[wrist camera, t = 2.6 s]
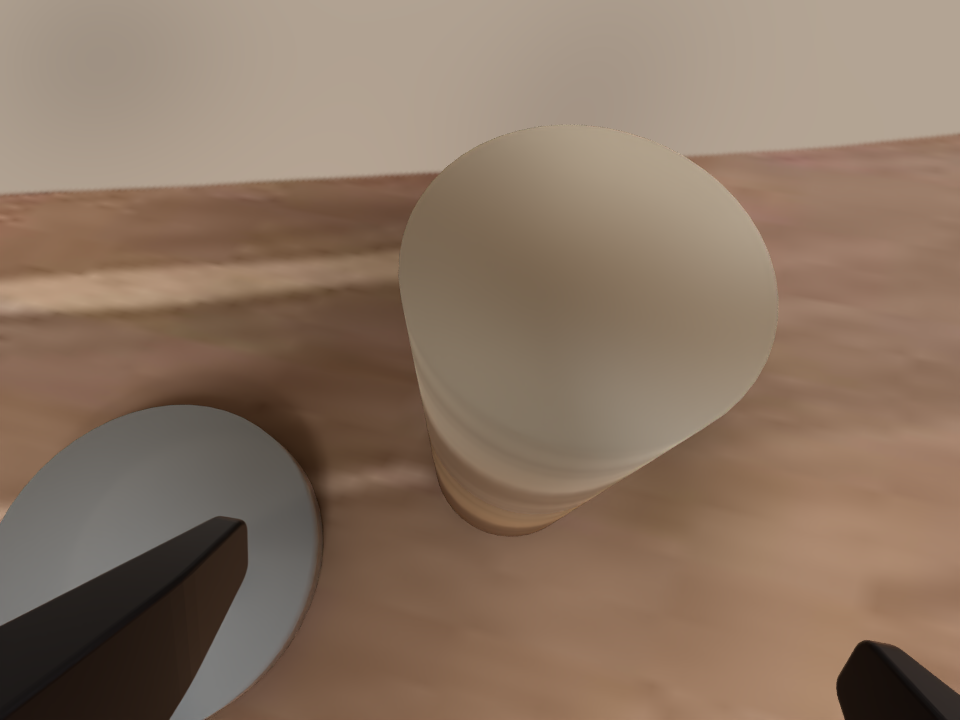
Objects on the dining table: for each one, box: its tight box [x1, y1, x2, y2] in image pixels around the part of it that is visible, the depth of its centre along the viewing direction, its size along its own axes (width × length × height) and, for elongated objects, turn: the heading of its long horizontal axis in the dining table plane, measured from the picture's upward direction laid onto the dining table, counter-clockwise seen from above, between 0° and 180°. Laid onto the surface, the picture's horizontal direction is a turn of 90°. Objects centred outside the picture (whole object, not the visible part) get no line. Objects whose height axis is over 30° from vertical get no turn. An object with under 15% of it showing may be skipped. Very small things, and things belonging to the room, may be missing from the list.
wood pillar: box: [398, 125, 778, 536], centre depth 14 cm, size 6×6×13 cm
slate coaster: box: [0, 405, 323, 720], centre depth 17 cm, size 10×10×2 cm
